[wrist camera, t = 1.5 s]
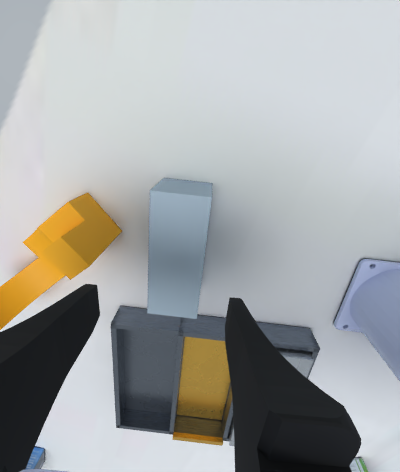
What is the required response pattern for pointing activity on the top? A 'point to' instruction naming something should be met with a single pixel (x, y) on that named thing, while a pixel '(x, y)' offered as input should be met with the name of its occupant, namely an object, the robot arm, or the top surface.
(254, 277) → the top surface
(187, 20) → the top surface
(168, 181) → the tall blue-grey block
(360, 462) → the syrup box
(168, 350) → the grey compartment tray
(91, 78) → the top surface
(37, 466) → the ink cartridge box
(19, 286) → the pipe clamp
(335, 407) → the robot arm
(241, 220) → the top surface
